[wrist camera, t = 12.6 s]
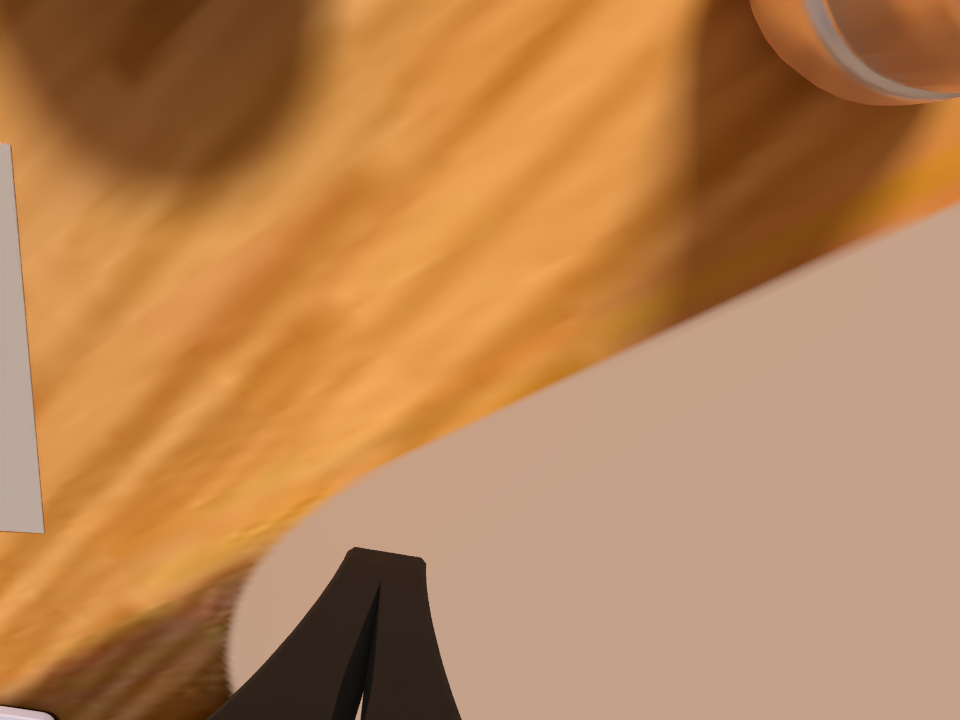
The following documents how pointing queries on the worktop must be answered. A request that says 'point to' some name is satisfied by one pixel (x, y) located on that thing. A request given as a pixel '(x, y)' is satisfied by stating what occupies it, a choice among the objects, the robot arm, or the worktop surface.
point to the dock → (15, 377)
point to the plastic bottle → (869, 46)
